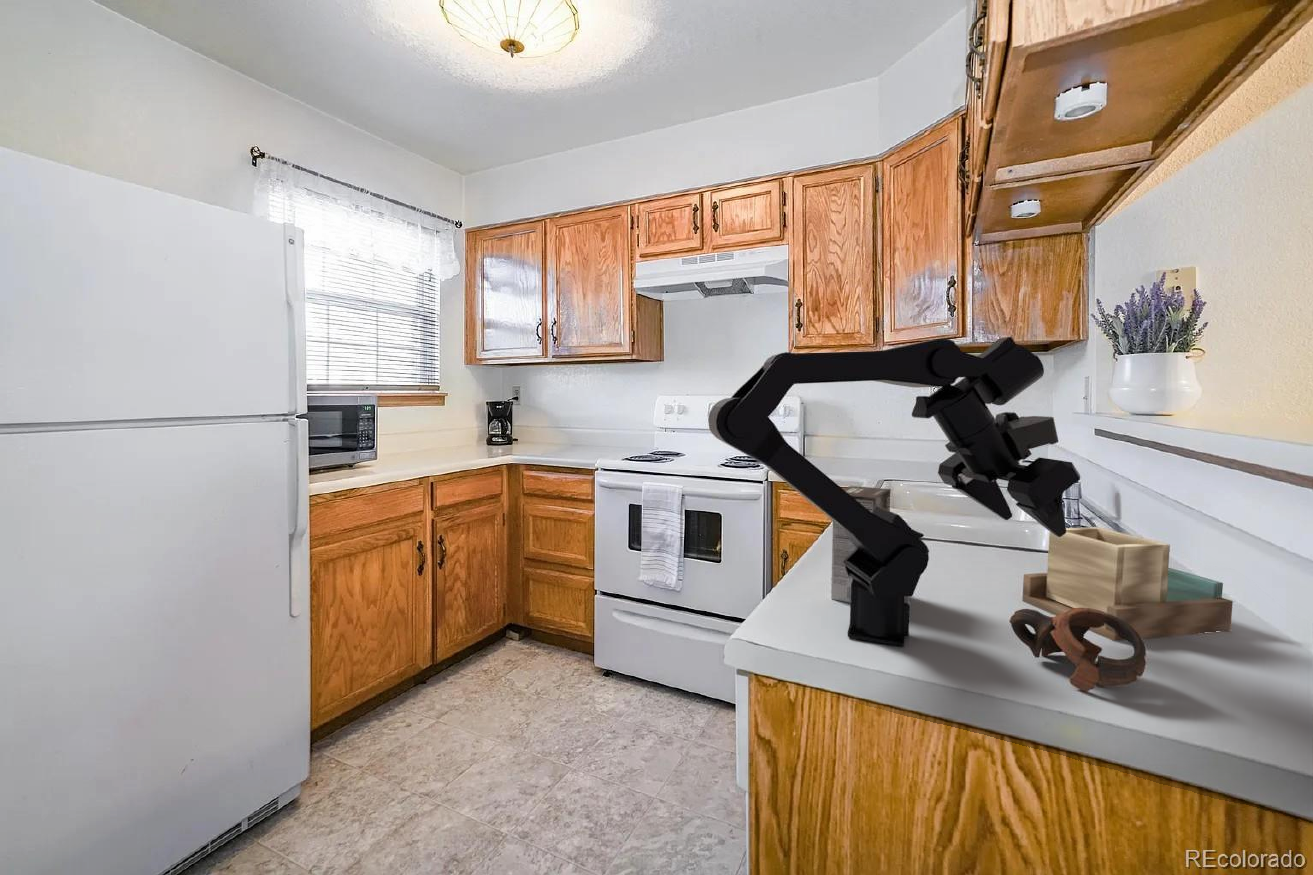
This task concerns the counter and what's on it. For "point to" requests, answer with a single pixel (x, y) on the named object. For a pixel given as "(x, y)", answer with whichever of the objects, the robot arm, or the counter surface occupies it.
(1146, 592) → the crate
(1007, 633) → the counter surface
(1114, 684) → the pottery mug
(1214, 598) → the bay
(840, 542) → the coffee box
